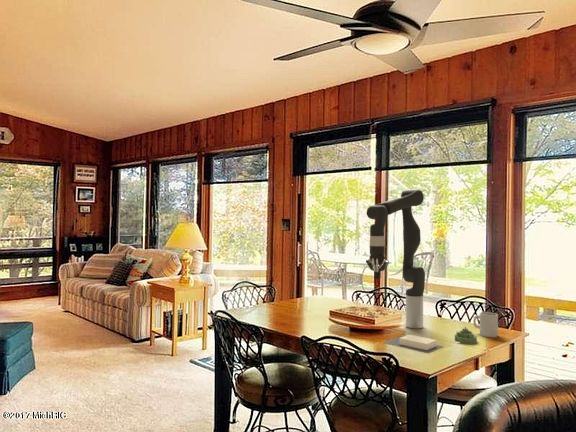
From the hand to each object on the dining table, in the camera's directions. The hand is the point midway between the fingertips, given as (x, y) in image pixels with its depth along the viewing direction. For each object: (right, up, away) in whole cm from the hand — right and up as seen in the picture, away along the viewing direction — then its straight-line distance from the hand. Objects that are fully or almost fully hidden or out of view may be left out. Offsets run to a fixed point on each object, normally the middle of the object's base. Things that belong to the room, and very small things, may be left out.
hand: (377, 279), depth 233 cm
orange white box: (+10, -27, -14) cm, 32 cm away
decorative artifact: (+41, -29, -9) cm, 51 cm away
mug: (+56, -29, +3) cm, 63 cm away
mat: (+13, -29, -17) cm, 36 cm away
